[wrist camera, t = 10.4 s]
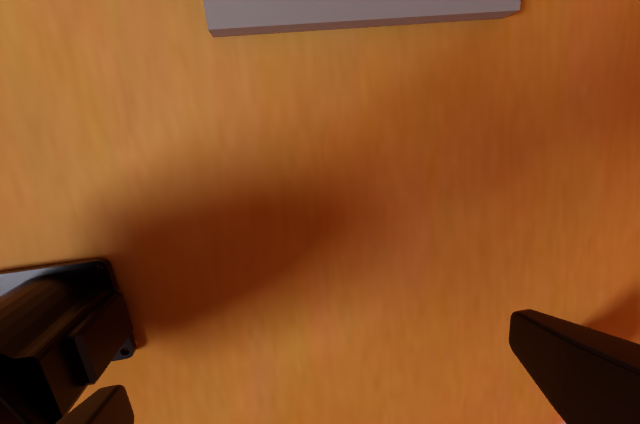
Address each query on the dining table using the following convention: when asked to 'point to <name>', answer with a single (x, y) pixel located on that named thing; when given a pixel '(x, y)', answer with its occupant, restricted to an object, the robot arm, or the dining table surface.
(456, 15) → the plate
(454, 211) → the dining table surface
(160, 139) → the dining table surface
